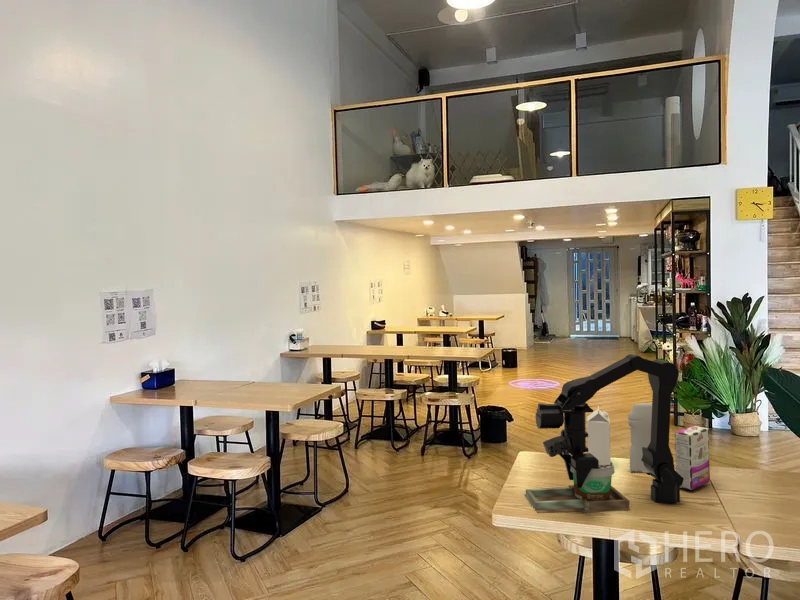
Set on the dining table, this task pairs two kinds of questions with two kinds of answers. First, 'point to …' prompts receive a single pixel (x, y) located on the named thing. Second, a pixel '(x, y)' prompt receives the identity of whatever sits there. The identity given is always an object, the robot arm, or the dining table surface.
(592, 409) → the robot arm
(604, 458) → the milk carton
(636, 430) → the light grey flat bottle
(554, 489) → the green flat tray
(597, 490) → the food container
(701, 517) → the dining table surface
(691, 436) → the candy bar box
